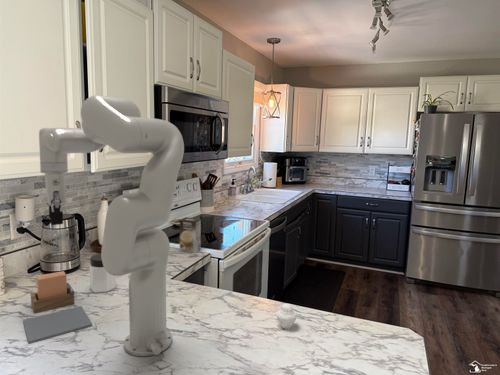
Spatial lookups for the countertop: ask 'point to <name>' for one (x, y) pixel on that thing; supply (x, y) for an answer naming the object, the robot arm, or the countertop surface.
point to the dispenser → (52, 301)
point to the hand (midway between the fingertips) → (55, 220)
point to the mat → (56, 324)
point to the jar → (100, 276)
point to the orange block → (51, 285)
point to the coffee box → (190, 234)
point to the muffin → (286, 316)
